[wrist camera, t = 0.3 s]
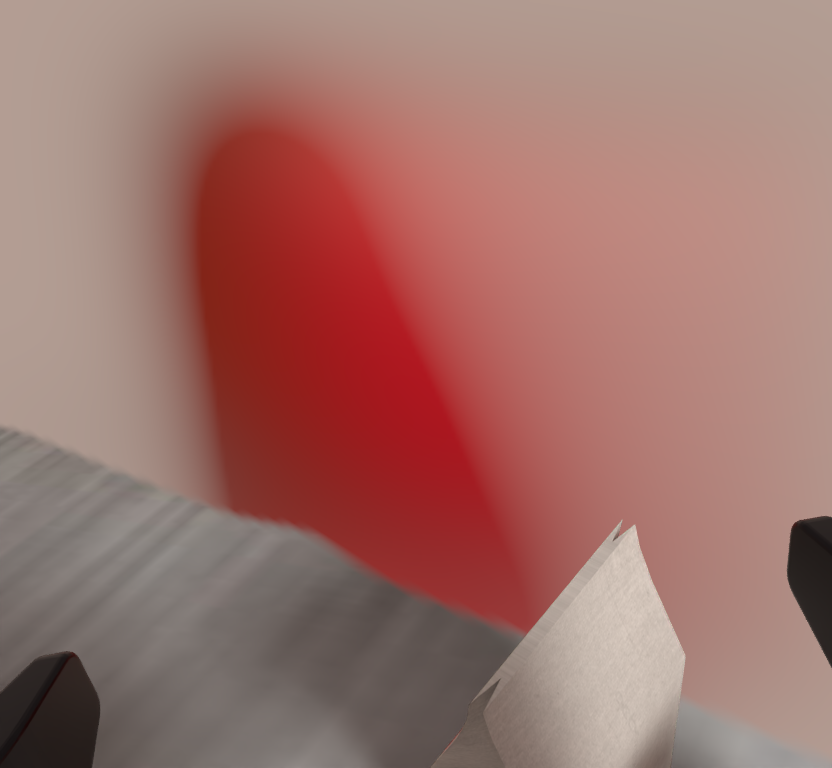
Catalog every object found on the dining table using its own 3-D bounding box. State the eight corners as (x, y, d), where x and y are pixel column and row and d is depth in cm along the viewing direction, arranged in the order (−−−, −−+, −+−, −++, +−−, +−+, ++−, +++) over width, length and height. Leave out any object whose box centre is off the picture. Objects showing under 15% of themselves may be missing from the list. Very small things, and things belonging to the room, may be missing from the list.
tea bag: (669, 774, 24) (699, 551, 19) (558, 972, 20) (554, 761, 15) (568, 711, 26) (569, 496, 21) (449, 879, 22) (412, 665, 17)
